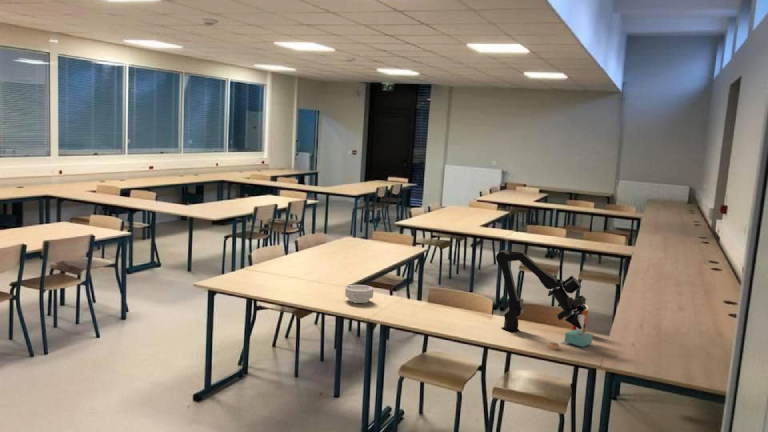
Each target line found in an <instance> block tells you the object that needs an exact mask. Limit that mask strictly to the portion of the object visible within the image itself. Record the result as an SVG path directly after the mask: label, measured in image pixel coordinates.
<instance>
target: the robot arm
mask: <svg viewBox="0 0 768 432" xmlns="http://www.w3.org/2000/svg"><path fill="white" fill-rule="evenodd" d="M495 260H496V262H497V264H498V266H499V268H500V270H501V271H502V276H503V279H504V280H503V281H504V283H505V288H506V291H507V296H508V310H507V311H506V312H505V313H504V314H503V315H504V321H503V322H504V324H503V327H501V329H502V330H503V331H507V332H509V333H515V332H520V328H519V318H518V317H519V316H520V315H521V314H522V313H523V312H524V311H525V309H524V308H525V307H526V306H525V304H524V298H521V299H520V297H519V295H518V292H517V287H516V283H515V279H514V276H513V272H512V268H511V267H512V262H515V261H519V262H520V263H521V264H522V265H524V267H526V268H527V269H528V270H529V271H531V272H532V274H533V275H535V276H536V277H537V278H538V280H539V281H540V283H541V284H542V285H543V286H544V288H546V289H548V294H547V296H548V297H552V296H553V297H554V299H555V300H556V302H557V303H558V304H557V307H558V308H559V307H560V308H561V310H562V311H561V312H559V313H557V314H556V315H557V316H556V318H557V319H558V321H560V322H561V321H563V320H564V321H565V322H568V323H569V324H571V326H573V325H574V326H576V327H577V328H579V329H581V328H582V327H581V325H580V323H579V321H578V319H577V318H578V314H582V313H583V311H584V310H585V309H587V308H586V306H585V305H586V304H587V302H586V301H587V298H585V296H584V295H578V296H577V298H573V297H570V296H569V295H568V294H571V295H572V294H574V293H575V292H577V291H578V290H579V289H581V288H582V285H581V283H580V281H579V280H578V279H577V278H576V277H574V275H570V276H569V277H568V278H567V279H565V280H562V279H559V278H557V277H556V276H555V275H553V274H552V273H550V272H549V271H546V270H545V269H543V268H542V267H540V266H539V265H538V264H537V263H536V262H535V261H534V260H532V259H531V257H529V256H528V255H527V254H526V253H525V252H524V251H521V250H520V251H508V250H505V249H504V250H500V251H499V252H498V253H497V254H496V255H495ZM578 305H579V306H578ZM584 327H585V324H584V326H583V328H584ZM585 328H586V327H585Z"/></svg>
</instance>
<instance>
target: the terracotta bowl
mask: <svg viewBox="0 0 768 432" xmlns="http://www.w3.org/2000/svg"><path fill="white" fill-rule="evenodd" d="M547 347H548V349H549V350H552V351H558V350H559V348H560V343H557V342H553V341H551V342H548V346H547Z"/></svg>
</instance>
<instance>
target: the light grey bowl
mask: <svg viewBox="0 0 768 432" xmlns="http://www.w3.org/2000/svg"><path fill="white" fill-rule="evenodd" d="M344 292H345V293H344V295H345V297H346V298H348V300H349V302H350V303H352V302H353V304H357V303H363V304H367V303H368V302H369V301H370V299H372V298H373V297H374V288H373V287H372V286H370V285H366V284H350V285H348V286H347V285H346V286H345V291H344Z"/></svg>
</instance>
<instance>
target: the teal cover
mask: <svg viewBox="0 0 768 432" xmlns="http://www.w3.org/2000/svg"><path fill="white" fill-rule="evenodd" d="M584 317H585V315H583V314H578V318H577V319H578V321H579V323H580V325H581V327H582V328H581V329H579V328H577V327H576V330H570V331H567V332H565V335H564V341H565V342H568V343H572V344H575V345H579V346H582V347H584V346H586V345H588V344H593V336H594V335H593V334H591V333H588V332H583V326H584Z"/></svg>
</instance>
